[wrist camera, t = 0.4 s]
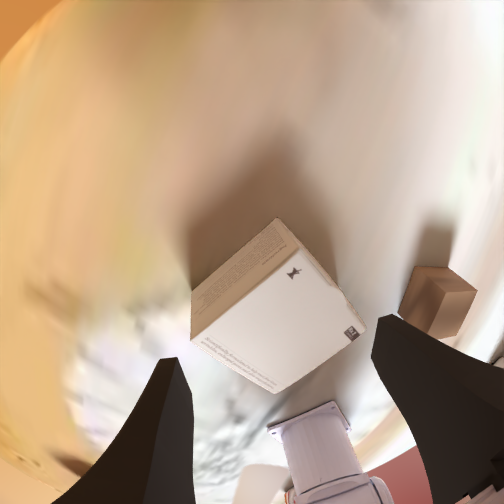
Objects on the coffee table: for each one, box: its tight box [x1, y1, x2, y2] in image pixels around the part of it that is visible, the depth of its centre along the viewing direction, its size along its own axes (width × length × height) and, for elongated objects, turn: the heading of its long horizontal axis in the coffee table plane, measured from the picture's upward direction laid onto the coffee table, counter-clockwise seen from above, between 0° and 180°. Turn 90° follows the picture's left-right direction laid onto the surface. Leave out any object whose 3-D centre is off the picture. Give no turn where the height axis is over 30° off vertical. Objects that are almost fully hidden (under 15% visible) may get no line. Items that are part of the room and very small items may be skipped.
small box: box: [190, 218, 366, 394], centre depth 18 cm, size 8×8×5 cm
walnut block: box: [398, 266, 478, 339], centre depth 21 cm, size 5×5×4 cm
